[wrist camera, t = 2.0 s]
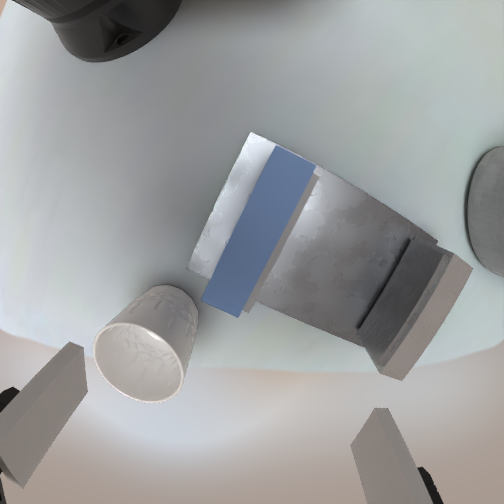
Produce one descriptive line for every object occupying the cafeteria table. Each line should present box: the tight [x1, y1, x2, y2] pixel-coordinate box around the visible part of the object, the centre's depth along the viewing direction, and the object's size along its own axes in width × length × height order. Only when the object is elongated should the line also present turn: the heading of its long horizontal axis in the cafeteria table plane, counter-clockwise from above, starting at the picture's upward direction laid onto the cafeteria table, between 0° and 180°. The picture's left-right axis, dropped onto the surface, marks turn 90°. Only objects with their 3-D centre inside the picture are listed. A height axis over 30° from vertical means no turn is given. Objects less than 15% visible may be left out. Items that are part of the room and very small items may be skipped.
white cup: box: [93, 285, 198, 403], centre depth 25 cm, size 8×8×10 cm
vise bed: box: [186, 132, 438, 347], centre depth 28 cm, size 22×14×1 cm, turn 64°
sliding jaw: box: [201, 145, 320, 317], centre depth 23 cm, size 4×12×7 cm, turn 154°
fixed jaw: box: [357, 237, 473, 381], centre depth 25 cm, size 4×12×7 cm, turn 154°
